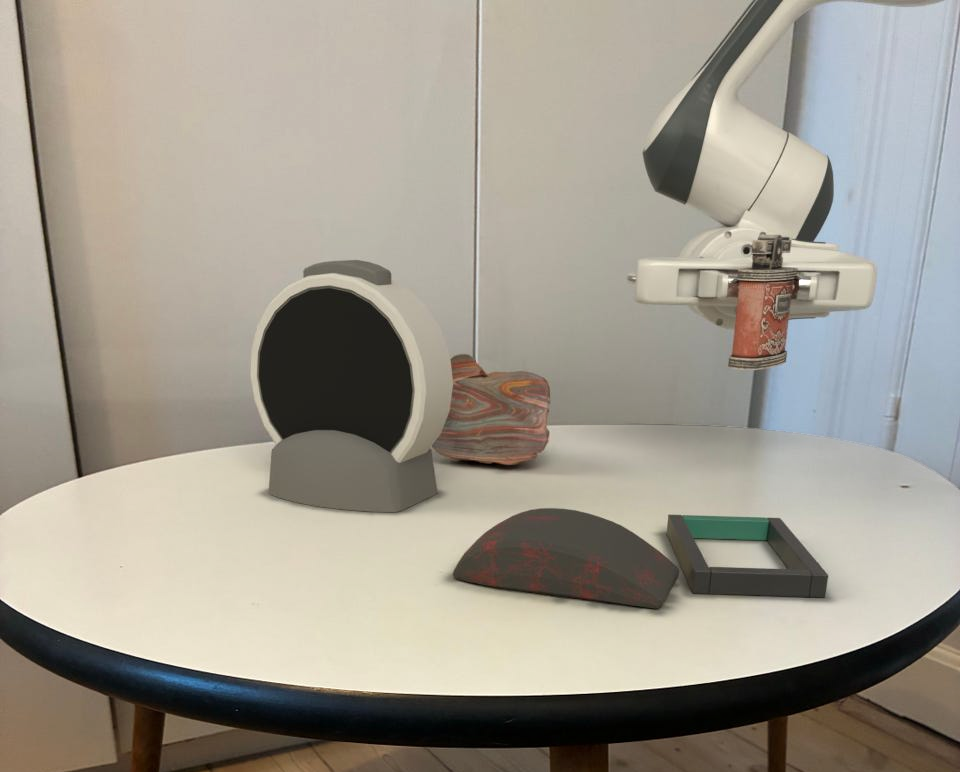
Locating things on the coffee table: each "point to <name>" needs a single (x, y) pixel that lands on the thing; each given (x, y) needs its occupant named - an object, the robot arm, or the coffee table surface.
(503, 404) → the stone
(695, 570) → the frame
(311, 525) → the coffee table surface
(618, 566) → the computer mouse
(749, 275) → the lighter
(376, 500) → the alarm clock
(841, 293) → the robot arm
